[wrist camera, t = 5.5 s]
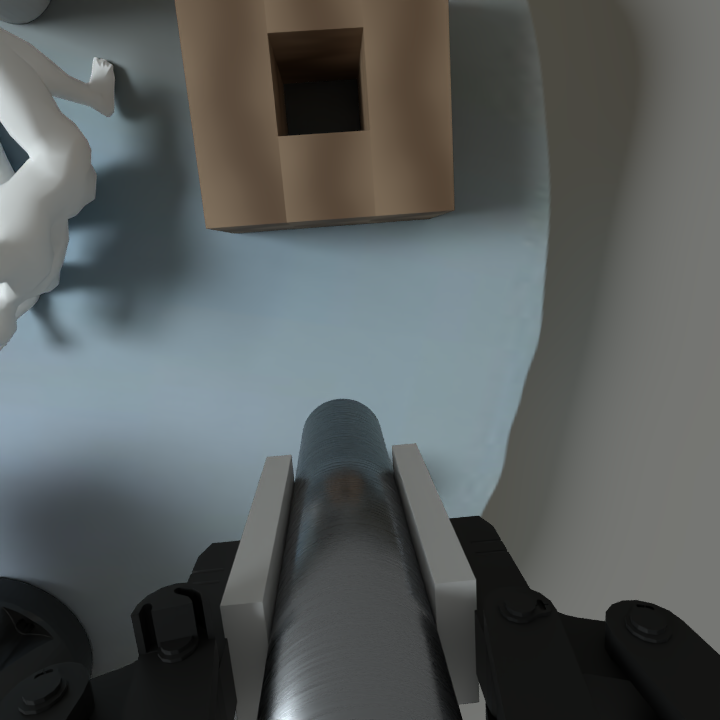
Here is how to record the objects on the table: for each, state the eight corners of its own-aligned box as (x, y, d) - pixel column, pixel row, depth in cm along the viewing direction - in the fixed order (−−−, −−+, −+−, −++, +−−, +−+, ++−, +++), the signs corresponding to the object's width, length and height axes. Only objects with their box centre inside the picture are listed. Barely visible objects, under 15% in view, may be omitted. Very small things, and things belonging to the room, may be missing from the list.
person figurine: (-249, -36, 22) (-141, 365, 22) (66, -47, 24) (151, 309, 25) (-65, 111, 34) (-1, 363, 35) (128, 93, 37) (183, 326, 38)
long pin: (306, 476, 20) (254, 948, 6) (298, 402, 19) (221, 755, 6) (383, 469, 20) (491, 917, 7) (378, 395, 20) (488, 724, 6)
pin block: (234, 233, 35) (206, 228, 27) (206, 13, 32) (165, -64, 24) (428, 219, 36) (454, 210, 28) (419, 0, 33) (445, -79, 25)
